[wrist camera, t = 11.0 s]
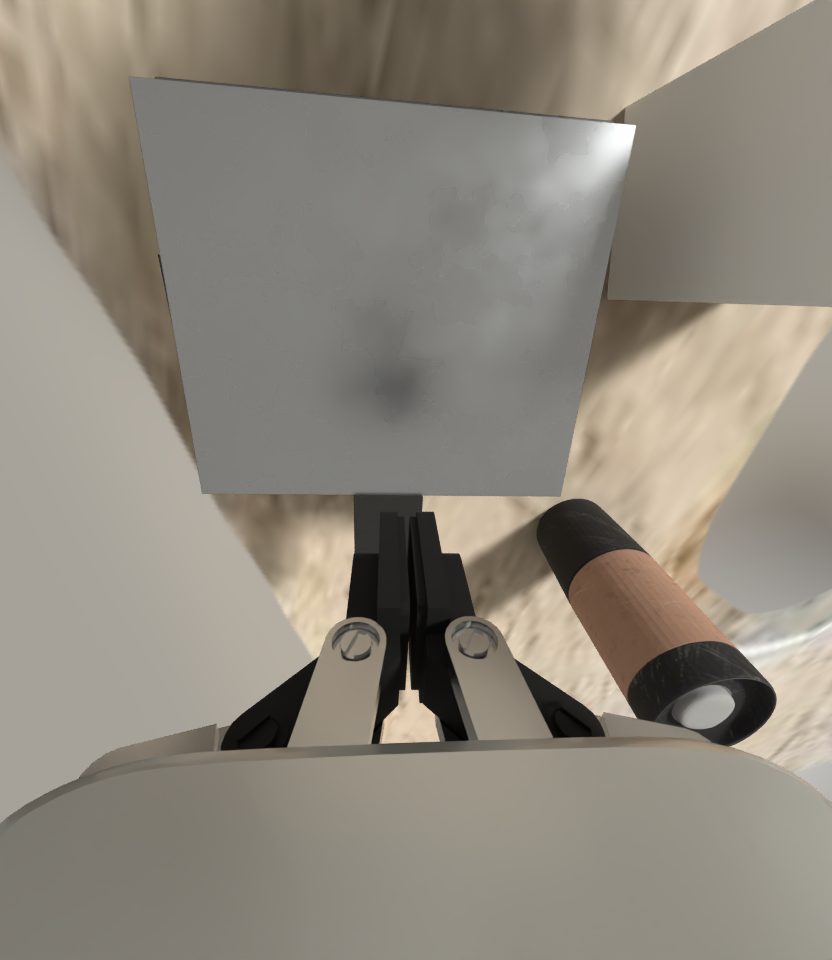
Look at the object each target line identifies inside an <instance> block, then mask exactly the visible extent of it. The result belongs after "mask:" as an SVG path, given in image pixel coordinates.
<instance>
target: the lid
mask: <svg viewBox="0 0 832 960" xmlns="http://www.w3.org/2000/svg"><path fill="white" fill-rule="evenodd" d="M129 81H130V86H131V92H132V98H133V103H134V109H135V115H136V120H137V126H138V132H139V137H140V143H141V149H142V154H143V160H144V166H145V171H146V177H147V183H148V189H149V194H150V200H151V206H152V211H153V217H154V223H155V228H156V234H157V240H158V245H159V251H160V257H161V262H162V268H163V274H164V279H165V285H166V291H167V297H168V302H169V308H170V314H171V319H172V325H173V331H174V336H175V342H176V348H177V353H178V359H179V365H180V370H181V376H182V382H183V387H184V393H185V399H186V405H187V410H188V416H189V422H190V427H191V433H192V439H193V444H194V450H195V456H196V461H197V467H198V473H199V478H200V484H201V489H202V493H203V494H310V495H354V540H355V553H379V532H380V511H395V512H397V513H398V516H404V520H405V535H406V550H407V551H408V532H409V517H410V516H416V512H422V502H423V496H422V495H434V496H557V497H560V496H561V491H562V486H563V482H564V477H565V472H566V467H567V462H568V457H569V452H570V447H571V442H572V437H573V433H574V428H575V423H576V418H577V413H578V408H579V403H580V398H581V393H582V388H583V383H584V379H585V374H586V369H587V364H588V359H589V354H590V349H591V344H592V339H593V334H594V330H595V325H596V320H597V315H598V310H599V305H600V300H601V295H602V290H603V285H604V281H605V276H606V271H607V266H608V261H609V256H610V251H611V246H612V241H613V236H614V231H615V227H616V222H617V217H618V212H619V207H620V202H621V197H622V192H623V187H624V182H625V178H626V173H627V168H628V163H629V158H630V153H631V148H632V143H633V138H634V133H635V128H636V125H628V124H617V123H607V122H597V121H586V120H576V119H565V118H555V117H545V116H534V115H524V114H513V113H503V112H493V111H482V110H472V109H461V108H451V107H441V106H430V105H420V104H410V103H399V102H389V101H378V100H368V99H358V98H347V97H337V96H326V95H316V94H306V93H295V92H285V91H274V90H264V89H254V88H243V87H233V86H223V85H212V84H202V83H191V82H181V81H171V80H160V79H150V78H139V77H129Z"/></svg>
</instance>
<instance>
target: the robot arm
mask: <svg viewBox="0 0 832 960" xmlns="http://www.w3.org/2000/svg"><path fill="white" fill-rule="evenodd" d="M408 642H409V660H410V678H411V690H419V702H420V703H423V704H424V705H425V706H426V707H427V708H428V709H429V710H431V711H432V712H433V713H434V714H435V723H436V728H437V732H438V736H439V740H440V742H418V743H390V744H381V743H382V736H383V730H384V719H385V718H386V717H387V716H388V715H389V714H390V713H391V712H392V711H393V710H394V709H395V708H396V707H397V706H398V700H399V690H405V685H406V669H407V653H408ZM0 960H832V802H830V801H829V800H828V799H827V798H826V797H825V796H824V795H823V794H822V793H820V792H819V791H818V790H817V789H816V788H814V787H813V786H812V785H811V784H810V783H808V782H807V781H805V780H804V779H802V778H801V777H799V776H797V775H796V774H794V773H793V772H791V771H789V770H787V769H785V768H783V767H781V766H779V765H777V764H775V763H773V762H770V761H768V760H766V759H763V758H761V757H758V756H755V755H753V754H750V753H747V752H744V751H741V750H738V749H735V748H732V747H728V746H723V745H719V744H715V743H712V742H711V741H710V740H708V739H706V738H705V737H703V736H702V735H700V734H699V733H697V732H694V731H691V730H688V729H686V728H681V727H676V726H670V725H665V724H660V723H655V722H650V721H645V720H640V719H635V718H630V717H625V716H620V715H615V714H610V713H605V712H604V713H603V715H602V717H601V716H596V715H594V714H593V713H592V712H591V711H590V710H589V709H588V708H586V707H585V706H584V705H583V704H581V703H580V702H578V701H577V700H575V699H574V698H572V697H571V696H569V695H568V694H566V693H565V692H563V691H562V690H560V689H559V688H557V687H556V686H554V685H553V684H551V683H550V682H548V681H547V680H545V679H544V678H542V677H541V676H540V675H538V674H537V673H535V672H534V671H532V670H531V669H529V668H528V667H526V666H525V665H523V664H522V663H520V662H519V661H517V660H516V659H514V657H513V655H512V653H511V651H510V649H509V647H508V645H507V643H506V641H505V639H504V637H503V635H502V633H501V632H500V631H499V629H498V628H497V627H496V626H495V625H494V624H492V623H491V622H489V621H487V620H485V619H483V618H479V617H476V616H475V612H474V608H473V604H472V600H471V596H470V592H469V588H468V584H467V580H466V576H465V572H464V568H463V564H462V560H461V557H460V555H459V554H450V553H442V552H441V547H440V541H439V536H438V531H437V525H436V520H435V515H434V512H416V516H410V517H409V532H408V551H407V550H406V535H405V520H404V516H398V513H397V512H395V511H380V532H379V553H354V557H353V565H352V573H351V582H350V590H349V599H348V608H347V616H346V619H345V620H343V621H341V622H339V623H337V624H336V625H335V626H334V627H333V628H332V629H330V631H329V633H328V634H327V636H326V638H325V641H324V644H323V647H322V650H321V652H320V655H319V657H317V658H316V659H315V660H313V661H312V662H311V663H310V664H308V665H307V666H306V667H304V668H303V669H302V670H300V671H299V672H298V673H296V674H295V675H293V676H292V677H291V678H289V679H288V680H287V681H285V682H284V683H283V684H281V685H280V686H279V687H277V688H276V689H275V690H273V691H272V692H271V693H269V694H268V695H267V696H265V697H264V698H263V699H261V700H260V701H259V702H257V703H256V704H255V705H253V706H252V707H251V708H249V709H248V710H247V711H245V712H244V713H243V714H242V715H240V716H239V717H238V718H237V719H236V720H235V721H234V722H233V723H232V724H231V725H230V726H226V727H222V728H218V727H217V724H214V725H210V726H206V727H202V728H198V729H194V730H190V731H186V732H182V733H178V734H173V735H169V736H165V737H161V738H157V739H153V740H149V741H145V742H141V743H137V744H133V745H130V746H125V747H121V748H119V749H116V750H114V751H111V752H109V753H106V754H105V755H103V756H102V757H100V758H99V759H97V760H96V761H95V762H93V763H92V764H91V765H90V766H89V767H88V768H87V769H86V770H85V771H84V773H82V775H81V776H80V777H79V779H77V780H74V781H72V782H70V783H67V784H65V785H63V786H60V787H58V788H56V789H54V790H52V791H50V792H48V793H46V794H44V795H42V796H40V797H38V798H37V799H35V800H33V801H31V802H30V803H28V804H26V805H24V806H23V807H22V808H20V809H19V810H17V811H16V812H14V813H13V814H11V815H10V816H9V817H7V818H6V819H5V820H4V821H3V822H1V823H0Z"/></svg>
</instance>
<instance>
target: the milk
mask: <svg viewBox="0 0 832 960" xmlns="http://www.w3.org/2000/svg"><path fill="white" fill-rule="evenodd" d="M624 124H628V125H636V128H635V133H634V138H633V143H632V148H631V153H630V158H629V163H628V168H627V173H626V178H625V182H624V187H623V192H622V197H621V202H620V207H619V212H618V217H617V222H616V227H615V231H614V236H613V241H612V251H611V262H610V272H609V283H608V293H607V300H636V301H666V302H697V303H728V304H759V305H790V306H821V307H832V0H814V1H813V2H811V3H809V4H807V5H806V6H804V7H802V8H800V9H799V10H797V11H795V12H793V13H791V14H790V15H788V16H786V17H784V18H783V19H781V20H779V21H777V22H776V23H774V24H772V25H770V26H769V27H767V28H765V29H763V30H761V31H760V32H758V33H756V34H754V35H753V36H751V37H749V38H747V39H746V40H744V41H742V42H740V43H738V44H737V45H735V46H733V47H731V48H730V49H728V50H726V51H724V52H723V53H721V54H719V55H717V56H716V57H714V58H712V59H710V60H708V61H707V62H705V63H703V64H701V65H700V66H698V67H696V68H694V69H693V70H691V71H689V72H687V73H685V74H684V75H682V76H680V77H678V78H677V79H675V80H673V81H671V82H670V83H668V84H666V85H664V86H663V87H661V88H659V89H657V90H655V91H654V92H652V93H650V94H648V95H647V96H645V97H643V98H641V99H640V100H638V101H636V102H634V103H633V104H631V105H629V106H627V107H625V116H624Z"/></svg>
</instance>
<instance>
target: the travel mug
mask: <svg viewBox="0 0 832 960" xmlns="http://www.w3.org/2000/svg"><path fill="white" fill-rule="evenodd" d="M537 539H538V542H539V545H540V547H541V549H542V551H543V553H544V555H545V557H546V559H547V561H548V563H549V565H550V566H551V568H552V570H553V572H554V574H555V576H556V578H557V580H558V582H559V584H560V586H561V588H562V589H563V591H564V593H565V595H566V597H567V599H568V601H569V603H570V605H571V606H572V608H573V610H574V612H575V613H576V615H577V617H578V618H579V620H580V622H581V624H582V625H583V627H584V629H585V630H586V632H587V634H588V635H589V637H590V639H591V641H592V642H593V644H594V646H595V647H596V649H597V651H598V652H599V654H600V656H601V658H602V659H603V661H604V663H605V664H606V666H607V668H608V669H609V671H610V673H611V675H612V676H613V678H614V680H615V681H616V683H617V685H618V686H619V688H620V690H621V692H622V693H623V695H624V697H625V698H626V700H627V702H628V704H629V705H630V707H631V709H632V710H633V712H634V714H635V715H636V717H637V719H640V720H645V721H650V722H655V723H660V724H665V725H670V726H676V727H681V728H686V729H688V730H691V731H694V732H697V733H699V734H700V735H702V736H703V737H705V738H706V739H708V740H710V741H711V742H712V743H715V744H719V745H723V746H728V747H729V746H732V745H735V744H737V743H739V742H741V741H743V740H744V739H746V738H748V737H749V736H751V735H752V734H753V733H755V732H756V731H757V730H758V729H760V728H761V727H762V726H763V725H764V724H765V723H766V722H767V720H768V719H769V718H770V716H771V715H772V713H773V711H774V709H775V706H776V693H775V691H774V689H773V687H772V686H771V685H770V683H769V682H768V681H767V680H766V679H765V678H764V677H763V676H762V675H761V674H760V673H759V671H758V670H757V669H756V668H755V667H754V666H753V665H752V664H751V663H750V662H749V661H748V660H747V659H746V658H745V656H744V655H743V654H742V653H741V652H740V651H739V650H738V649H737V648H736V647H735V646H734V645H733V644H732V643H731V642H730V640H729V639H728V638H727V637H726V636H725V635H724V634H723V633H722V632H721V631H720V630H719V629H718V628H717V627H716V625H715V624H714V623H713V622H712V621H711V620H710V619H709V618H708V617H707V616H706V615H705V614H704V613H703V612H702V610H701V609H700V608H699V607H698V606H697V605H696V604H695V603H694V602H693V601H692V600H691V599H690V598H689V597H688V595H687V594H686V593H685V592H684V591H683V590H682V589H681V588H680V587H679V586H678V585H677V584H676V583H675V582H674V580H673V579H672V578H671V577H670V576H669V575H668V574H667V573H666V572H665V571H664V570H663V569H662V568H661V567H660V565H659V564H658V563H657V562H656V561H655V560H654V559H653V558H652V557H651V556H650V555H649V554H648V553H647V552H646V551H645V550H644V549H643V548H642V547H641V546H640V545H639V544H638V543H637V542H636V541H635V540H634V539H633V538H631V537H630V536H629V535H628V534H627V533H626V532H625V531H624V530H623V529H622V528H621V527H620V526H619V525H618V524H617V523H616V522H615V521H614V520H613V519H612V518H611V517H610V516H609V515H608V514H607V513H606V512H605V511H604V510H602V509H601V508H600V507H599V506H598V505H597V504H595V503H593V502H591V501H589V500H585V499H571V500H567V501H564V502H561V503H559V504H557V505H555V506H554V507H552V508H551V509H550V510H549V511H548V512H547V513H546V514H545V515H544V516H543V517H542V519H541V521H540V523H539V525H538V529H537Z"/></svg>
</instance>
